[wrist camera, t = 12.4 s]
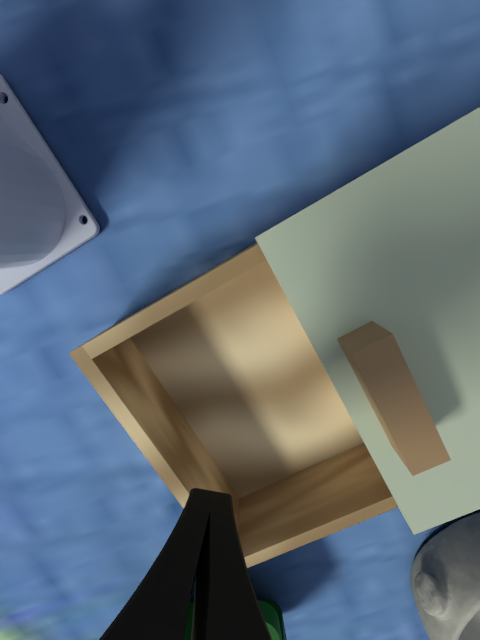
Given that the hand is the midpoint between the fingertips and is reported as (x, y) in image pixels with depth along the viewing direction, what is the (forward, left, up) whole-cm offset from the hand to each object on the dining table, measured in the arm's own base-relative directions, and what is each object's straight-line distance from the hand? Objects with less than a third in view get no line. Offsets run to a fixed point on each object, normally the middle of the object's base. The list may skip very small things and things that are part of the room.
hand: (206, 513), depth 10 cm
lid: (+1, +13, -7) cm, 15 cm away
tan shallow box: (+1, +4, -10) cm, 11 cm away
